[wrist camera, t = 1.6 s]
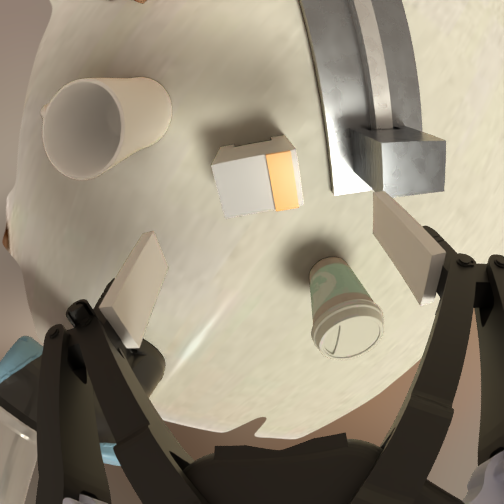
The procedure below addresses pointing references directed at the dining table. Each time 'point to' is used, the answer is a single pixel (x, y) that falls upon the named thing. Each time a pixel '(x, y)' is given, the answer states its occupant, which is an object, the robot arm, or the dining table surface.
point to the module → (258, 177)
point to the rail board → (351, 78)
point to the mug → (103, 123)
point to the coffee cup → (342, 311)
